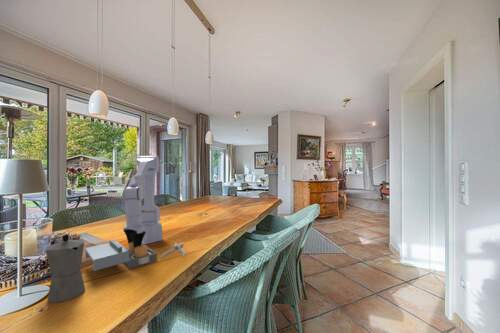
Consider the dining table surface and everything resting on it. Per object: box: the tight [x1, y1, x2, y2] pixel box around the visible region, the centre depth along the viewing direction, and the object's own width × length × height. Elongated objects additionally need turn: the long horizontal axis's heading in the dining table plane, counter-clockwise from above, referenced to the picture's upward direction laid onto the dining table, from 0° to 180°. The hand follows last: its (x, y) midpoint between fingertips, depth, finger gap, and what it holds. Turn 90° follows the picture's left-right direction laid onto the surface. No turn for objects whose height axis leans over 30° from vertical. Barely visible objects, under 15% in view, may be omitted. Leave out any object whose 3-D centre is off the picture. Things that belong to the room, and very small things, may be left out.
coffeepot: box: [45, 234, 86, 304], centre depth 68 cm, size 15×9×18 cm, turn 62°
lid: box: [84, 238, 129, 272], centre depth 84 cm, size 11×16×5 cm
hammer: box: [160, 242, 186, 259], centre depth 101 cm, size 10×2×15 cm
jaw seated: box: [135, 244, 148, 258], centre depth 89 cm, size 4×4×6 cm
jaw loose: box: [128, 242, 135, 253], centre depth 94 cm, size 4×4×6 cm
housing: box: [123, 246, 158, 270], centre depth 92 cm, size 10×15×3 cm, turn 45°
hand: (134, 246), depth 95 cm, fingers open, 7 cm apart
